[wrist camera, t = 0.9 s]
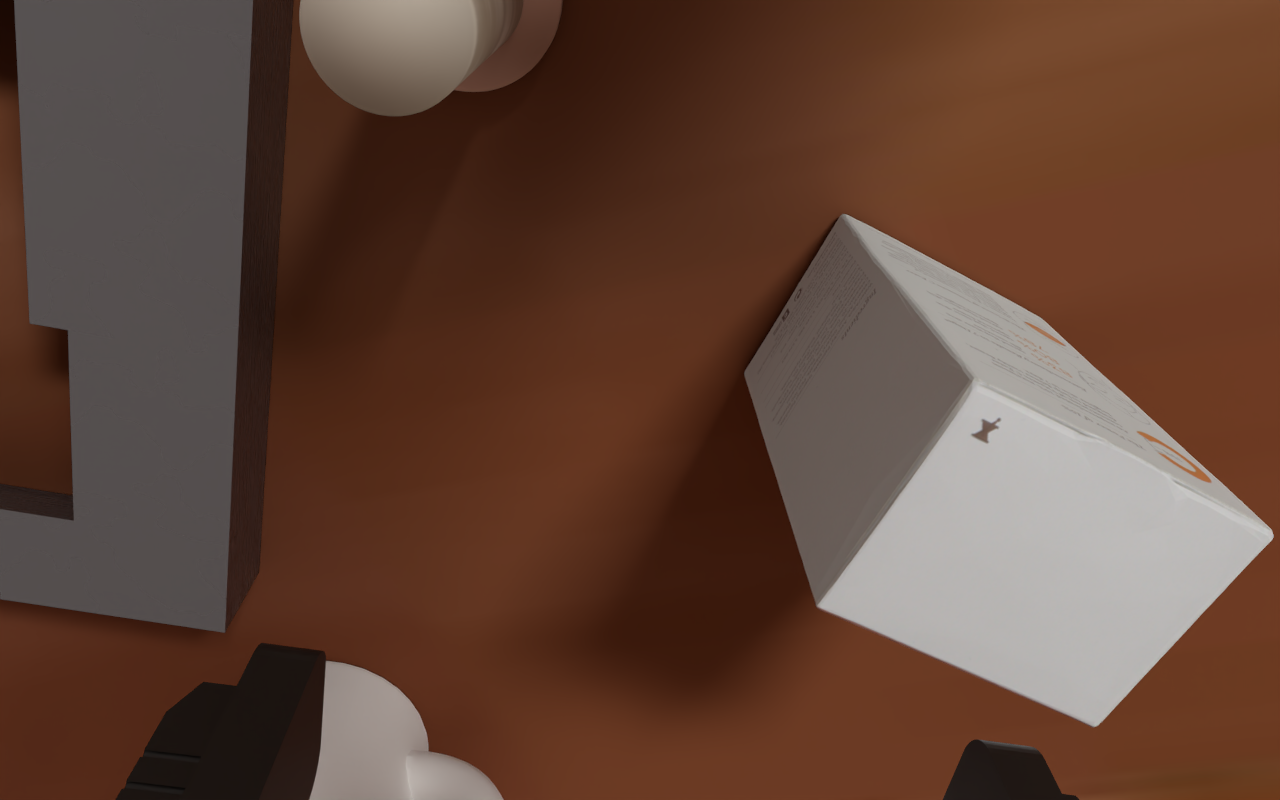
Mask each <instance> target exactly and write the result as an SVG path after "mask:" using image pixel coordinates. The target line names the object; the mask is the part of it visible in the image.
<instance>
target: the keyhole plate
mask: <svg viewBox="0 0 1280 800" xmlns="http://www.w3.org/2000/svg"><path fill="white" fill-rule="evenodd" d="M14 9H15V30H16V50H17V71H18V92H19V113H20V133H21V154H22V175H23V196H24V216H25V237H26V258H27V279H28V299H29V320H30V324H36V325H42V326H47V327H53V328H59V329H64V330H68V351H69V383H70V415H71V447H72V479H73V496H72V495H66V494H60V493H54V492H48V491H41V490H35V489H29V488H23V487H16V486H10V485H4V484H0V599H2V600H9V601H16V602H23V603H29V604H36V605H43V606H49V607H56V608H63V609H70V610H76V611H83V612H90V613H96V614H103V615H110V616H116V617H123V618H130V619H137V620H143V621H150V622H157V623H163V624H170V625H177V626H184V627H190V628H197V629H204V630H210V631H217V632H224V633H225V632H226V630H227V628H228V626H229V624H230V623H231V621H232V619H233V617H234V616H235V614H236V612H237V610H238V609H239V607H240V605H241V603H242V601H243V600H244V598H245V596H246V594H247V593H248V591H249V589H250V587H251V585H252V584H253V582H254V580H255V578H256V577H257V575H258V573H259V565H260V548H261V531H262V515H263V498H264V481H265V465H266V448H267V432H268V415H269V398H270V382H271V365H272V348H273V332H274V315H275V298H276V282H277V265H278V249H279V232H280V215H281V199H282V182H283V165H284V149H285V132H286V115H287V99H288V82H289V66H290V49H291V32H292V16H293V0H14Z"/></svg>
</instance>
